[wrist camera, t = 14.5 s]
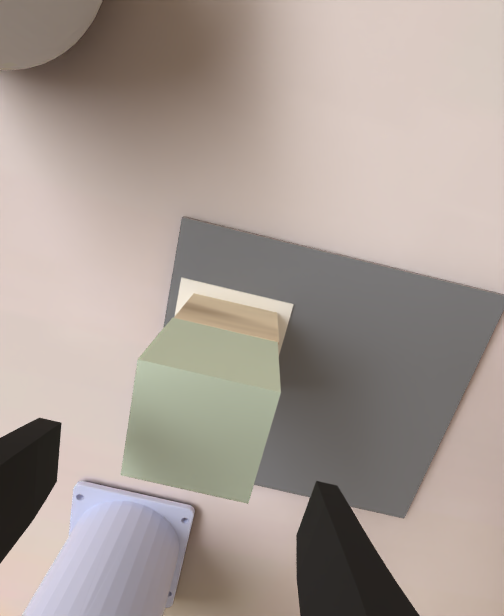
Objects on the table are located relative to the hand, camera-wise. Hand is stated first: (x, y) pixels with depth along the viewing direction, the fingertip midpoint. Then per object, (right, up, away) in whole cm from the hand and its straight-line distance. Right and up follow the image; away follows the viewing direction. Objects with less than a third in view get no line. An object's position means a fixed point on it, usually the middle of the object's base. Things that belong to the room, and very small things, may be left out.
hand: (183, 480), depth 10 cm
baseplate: (+5, +1, +10) cm, 12 cm away
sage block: (0, +2, +5) cm, 6 cm away
